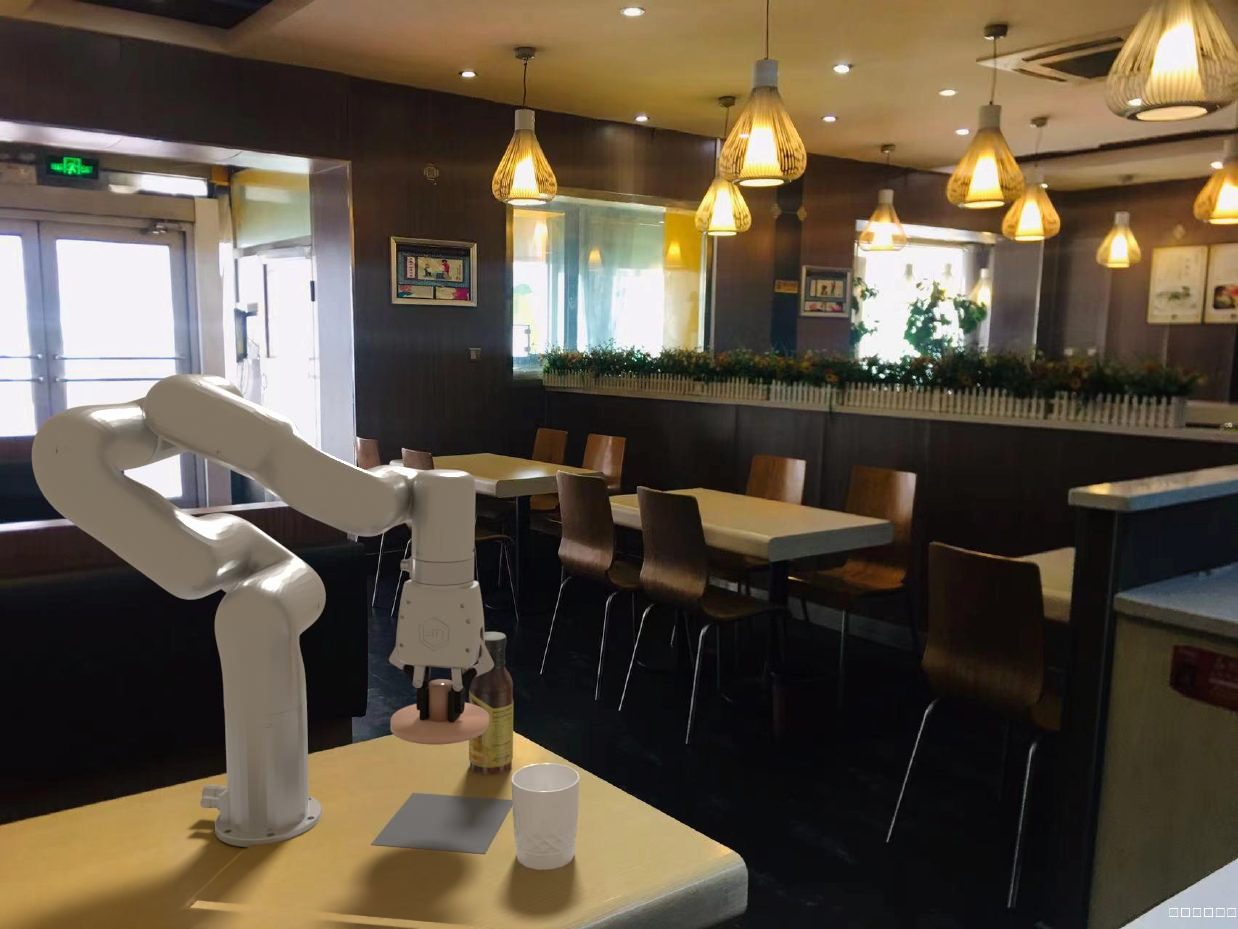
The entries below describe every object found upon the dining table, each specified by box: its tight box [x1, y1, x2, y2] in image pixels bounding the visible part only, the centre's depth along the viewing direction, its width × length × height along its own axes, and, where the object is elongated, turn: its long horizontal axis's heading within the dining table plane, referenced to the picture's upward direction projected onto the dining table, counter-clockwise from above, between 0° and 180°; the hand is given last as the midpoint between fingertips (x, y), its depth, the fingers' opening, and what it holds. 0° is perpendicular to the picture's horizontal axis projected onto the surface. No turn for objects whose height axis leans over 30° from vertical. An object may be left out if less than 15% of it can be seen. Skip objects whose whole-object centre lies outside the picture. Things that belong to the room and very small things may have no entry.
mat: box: [370, 792, 513, 855], centre depth 118 cm, size 14×14×1 cm
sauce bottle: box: [468, 631, 514, 776], centre depth 134 cm, size 7×6×20 cm
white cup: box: [510, 762, 580, 871], centre depth 110 cm, size 8×8×10 cm
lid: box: [390, 678, 489, 746], centre depth 116 cm, size 12×12×5 cm
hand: (440, 716), depth 117 cm, fingers closed on lid, 3 cm apart
